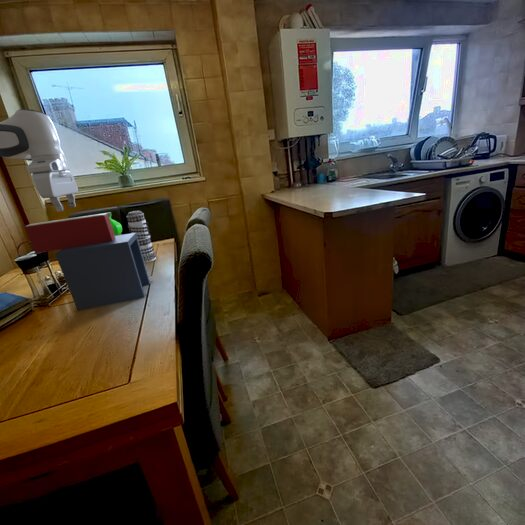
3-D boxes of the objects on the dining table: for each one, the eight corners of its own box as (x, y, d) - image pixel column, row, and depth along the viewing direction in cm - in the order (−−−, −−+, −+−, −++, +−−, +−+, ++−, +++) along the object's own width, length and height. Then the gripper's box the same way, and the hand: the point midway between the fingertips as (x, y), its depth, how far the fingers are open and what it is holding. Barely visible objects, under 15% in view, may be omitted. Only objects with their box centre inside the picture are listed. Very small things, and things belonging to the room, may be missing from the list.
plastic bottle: (114, 257, 154) (100, 212, 146) (133, 254, 155) (120, 210, 146) (106, 263, 145) (90, 216, 136) (127, 260, 145) (112, 213, 137)
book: (35, 253, 91) (23, 226, 88) (41, 250, 95) (30, 223, 92) (112, 241, 95) (104, 214, 92) (115, 238, 99) (107, 212, 96)
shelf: (77, 311, 95) (54, 253, 88) (91, 294, 108) (72, 242, 101) (144, 297, 99) (127, 241, 92) (150, 282, 112) (135, 232, 105)
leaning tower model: (150, 256, 148) (137, 209, 139) (160, 258, 142) (148, 209, 134) (134, 262, 141) (120, 213, 132) (144, 264, 135) (130, 213, 127)
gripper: (56, 167, 98) (69, 206, 103) (22, 167, 79) (41, 215, 84) (75, 165, 99) (88, 204, 104) (47, 164, 81) (64, 212, 85)
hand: (67, 209), depth 94 cm, fingers open, 8 cm apart
